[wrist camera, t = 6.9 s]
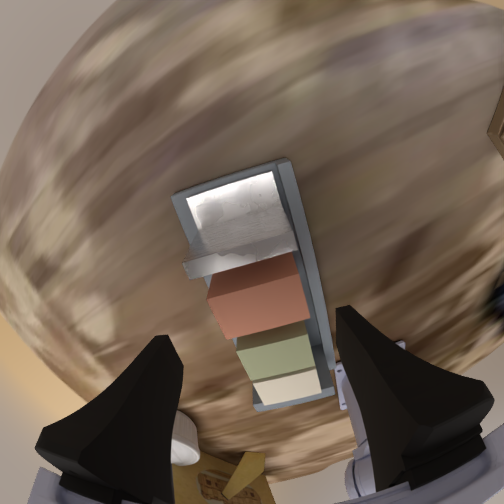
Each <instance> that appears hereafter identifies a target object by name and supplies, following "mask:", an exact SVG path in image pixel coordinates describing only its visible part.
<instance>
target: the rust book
mask: <svg viewBox="0 0 504 504" xmlns="http://www.w3.org/2000/svg"><path fill="white" fill-rule="evenodd" d="M206 300H207V302H208V304H209V306H210V308H211V310H212V312H213V314H214V316H215V318H216V320H217V322H218V324H219V326H220V328H221V330H222V332H223V334H224V336H225V338H226V339H231V338H236V337H240V336H244V335H248V334H252V333H256V332H260V331H264V330H268V329H272V328H276V327H280V326H284V325H287V324H291V323H294V322H298V321H301V320H305V319H308V318H310V314H309V310H308V306H307V302H306V298H305V295H304V291H303V287H302V283H301V280H300V276H299V273H298V269H297V266H296V263H295V260H294V257H293V254H292V252H288V253H285V254H281V255H278V256H274V257H271V258H267V259H264V260H260V261H257V262H253V263H250V264H246V265H243V266H239V267H235V268H232V269H228V270H225V271H221V272H217V273H214V274H212V278H211V282H210V286H209V290H208V295H207V299H206Z"/></svg>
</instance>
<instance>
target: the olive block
mask: <svg viewBox="0 0 504 504" xmlns="http://www.w3.org/2000/svg"><path fill="white" fill-rule="evenodd" d="M236 352H237V354H238V356H239V358H240V360H241V362H242V364H243V366H244V368H245V370H246V372H247V374H248V376H249V378H250V380H256V379H261V378H266V377H271V376H275V375H280V374H284V373H288V372H292V371H297V370H300V369H304V368H308V367H312V366H315V362H314V358H313V354H312V350H311V346H310V342H309V338H308V334H307V330H306V326H305V322H304V320H301V321H298V322H294V323H291V324H287V325H284V326H280V327H276V328H272V329H268V330H264V331H260V332H256V333H252V334H248V335H244V336H240V337H237V345H236Z"/></svg>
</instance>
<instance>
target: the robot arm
mask: <svg viewBox="0 0 504 504" xmlns="http://www.w3.org/2000/svg"><path fill="white" fill-rule="evenodd" d="M336 344H337V348H338V352H339V355H340V359H341V362H338V363H336V368H335V369H334V371H335V378H336V384H337V390H338V397H339V404H340V409H341V410H345V409H348V413H349V416H350V420H351V424H352V427H353V431H354V435H355V438H356V442H357V446H358V448H356V449H354V450H353V455H354V459H352V460H351V461H350V462H349V463H348V466H347V469H346V471H345V486H346V490H347V492H348V495H349V497H350V499H351V500H348V501H344V502H340V503H335V504H484V503H485V502H486V501H488V500H489V499H490V498H491V497H493V496H494V495H495V494H497V493H498V492H499V491H501V490H502V489H503V488H504V423H503V424H502V425H501V426H500V427H498V428H497V429H495V430H494V431H492V432H491V433H490V434H488V435H487V436H486V437H484V438H483V439H482V437H481V436H480V433H481V432H482V428H481V426H480V423H481V421H482V420H483V419H484V418H485V416H486V415H487V414H488V412H489V411H490V410H491V408H492V406H493V404H494V398H493V396H492V394H491V393H490V391H489V389H488V388H487V386H486V385H485V384H484V382H483V381H481V380H476V379H473V378H469V377H464V376H461V375H458V374H455V373H452V372H449V371H446V370H444V369H441V368H439V367H437V366H435V365H432V364H430V363H428V362H426V361H424V360H422V359H420V358H418V357H416V356H415V355H413V354H411V353H410V352H408V351H406V350H405V342H404V341H399V342H396V343H394V342H393V341H392V340H390V339H389V338H388V337H386V336H385V335H384V334H382V333H381V332H380V331H379V330H378V329H376V328H375V327H374V326H373V325H372V324H370V323H369V322H368V321H367V320H366V319H365V318H364V317H362V316H361V315H360V314H359V313H358V312H357V311H356V310H355V309H354V308H353V307H352V306H350V305H348V306H343V307H339V308H336ZM183 368H184V366H183V364H182V362H181V360H180V358H179V356H178V354H177V352H176V350H175V348H174V346H173V344H172V342H171V340H170V338H169V336H168V335H158V336H155V337H154V338H153V339H152V340H151V341H150V342H149V343H148V345H147V346H146V347H145V348H144V349H143V350H142V351H141V353H140V354H139V355H138V356H137V357H136V358H135V359H134V361H133V362H132V363H131V364H130V365H129V366H128V367H127V368H126V369H125V370H124V371H123V372H122V374H121V375H120V376H119V377H118V378H117V379H116V380H115V381H114V382H113V383H112V384H111V385H110V386H109V387H107V388H106V389H105V390H104V391H103V392H102V393H101V394H99V395H98V396H97V397H96V398H94V399H93V400H92V401H90V402H89V403H87V404H86V405H85V406H83V407H82V408H80V409H79V410H77V411H76V412H74V413H72V414H71V415H69V416H67V417H65V418H63V419H61V420H59V421H57V422H55V423H53V424H51V425H48V426H46V427H44V428H43V429H42V432H41V434H40V436H39V439H38V441H37V443H36V446H35V450H36V451H37V453H38V454H39V455H41V456H42V457H43V458H44V459H45V460H47V461H48V462H49V463H51V464H52V465H53V466H55V467H56V468H58V469H59V470H61V471H62V472H63V473H62V476H59V475H58V474H56V473H54V472H51V471H49V470H47V469H45V468H43V467H40V468H39V471H38V473H37V476H36V479H35V482H34V485H33V488H32V491H31V494H30V497H29V500H28V503H27V504H173V497H172V486H171V446H172V433H173V426H174V421H175V417H176V412H177V407H178V403H179V398H180V394H181V389H182V382H183Z"/></svg>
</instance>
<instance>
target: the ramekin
mask: <svg viewBox="0 0 504 504" xmlns="http://www.w3.org/2000/svg"><path fill="white" fill-rule="evenodd" d="M199 459H200V450H199V448H198V438H197V429H196V426H195V424H194V423H193V422H192V420H191V419H190V418H189V417H188V416H186V415H185V414H184V413H182V412H180V411H178V410H177V412H176V417H175V421H174V426H173V433H172V446H171V463H173V464H175V465H177V466H186V465H191V464H194V463H196V462H197V461H198V460H199Z"/></svg>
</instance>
